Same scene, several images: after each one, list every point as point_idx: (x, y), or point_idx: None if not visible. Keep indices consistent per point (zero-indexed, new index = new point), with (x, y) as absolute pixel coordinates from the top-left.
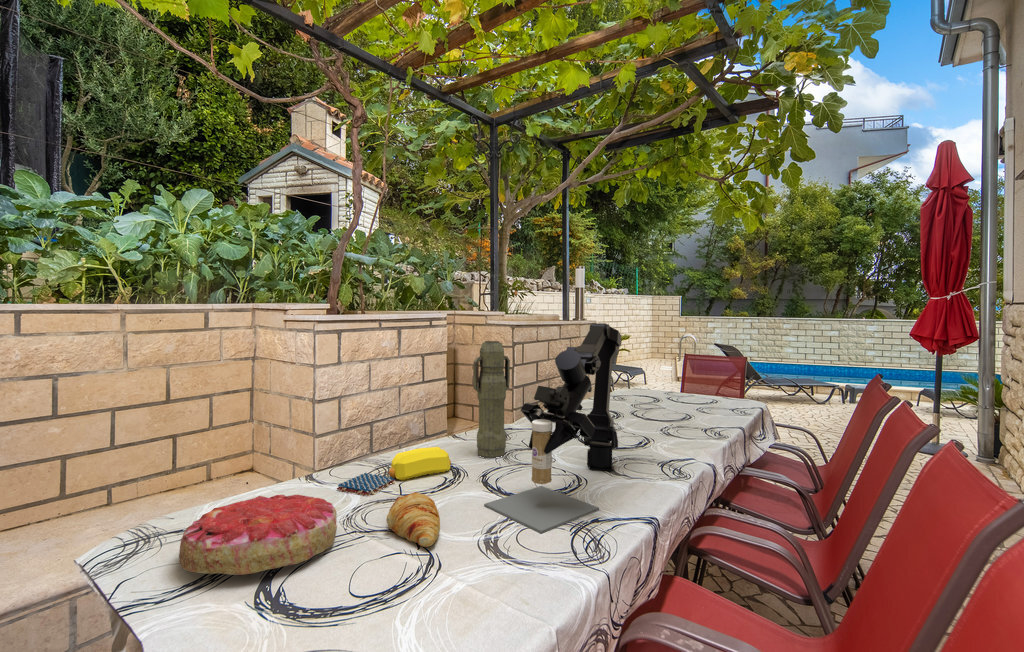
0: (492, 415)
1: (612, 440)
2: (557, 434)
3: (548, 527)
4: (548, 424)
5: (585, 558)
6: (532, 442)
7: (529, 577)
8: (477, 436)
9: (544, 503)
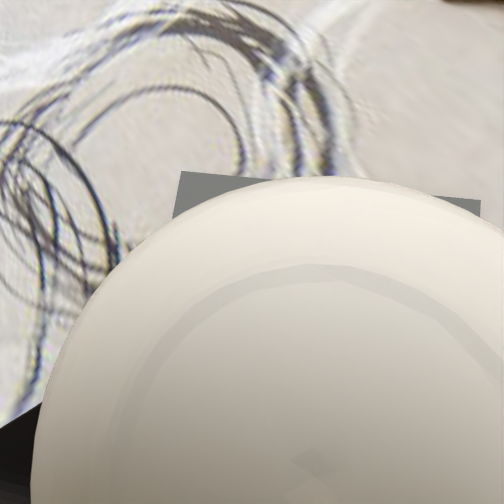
0: None
1: None
2: (29, 411)
3: (177, 203)
4: (58, 377)
5: (29, 146)
6: None
7: (89, 5)
8: None
9: None
